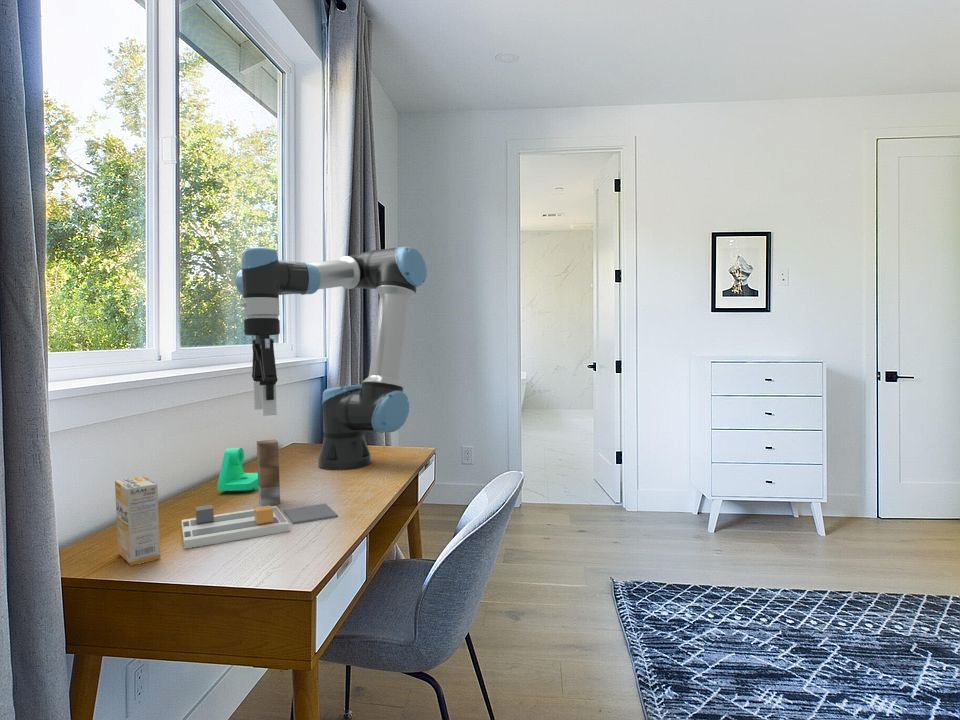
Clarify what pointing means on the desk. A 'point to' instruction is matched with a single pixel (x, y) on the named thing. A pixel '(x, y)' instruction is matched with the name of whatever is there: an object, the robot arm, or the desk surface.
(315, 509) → the mat
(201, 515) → the tab
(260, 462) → the wooden beam block
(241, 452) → the camera mount
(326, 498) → the desk surface
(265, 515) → the tab
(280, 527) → the switch board
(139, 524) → the supplement box
